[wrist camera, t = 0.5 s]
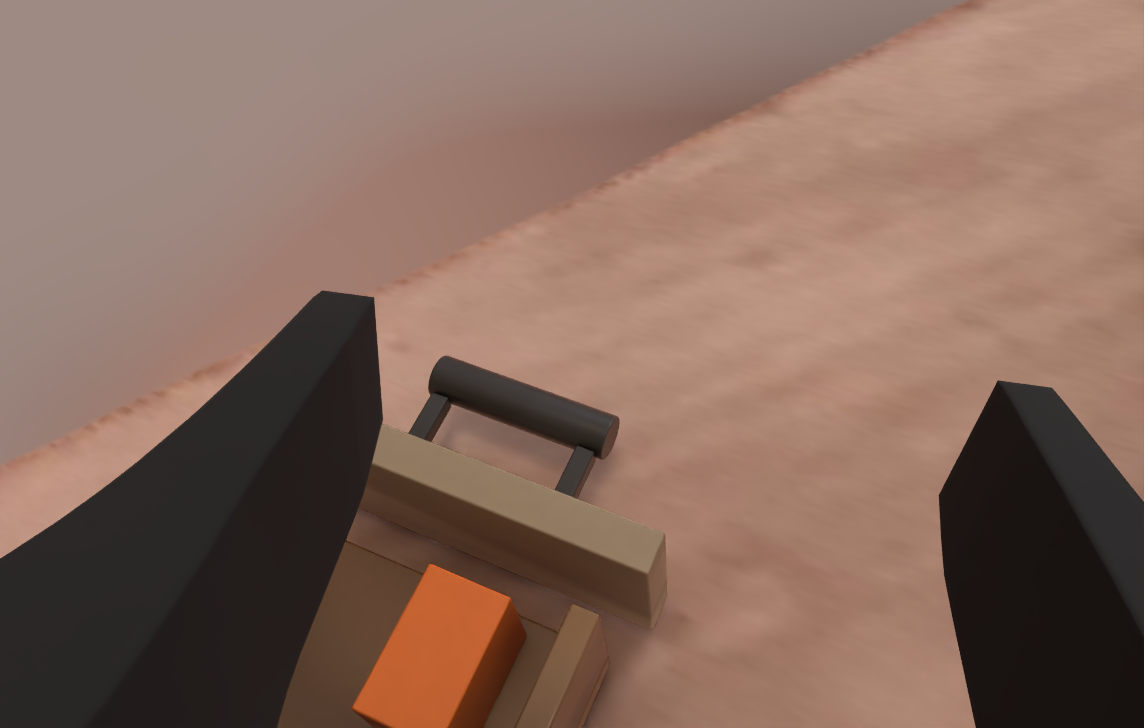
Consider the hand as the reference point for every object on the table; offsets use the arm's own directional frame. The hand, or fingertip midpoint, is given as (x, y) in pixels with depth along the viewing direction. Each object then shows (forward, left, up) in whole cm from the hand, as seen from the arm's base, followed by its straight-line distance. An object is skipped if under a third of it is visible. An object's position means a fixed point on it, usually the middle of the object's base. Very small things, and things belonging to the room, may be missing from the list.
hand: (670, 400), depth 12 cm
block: (-1, +6, -17) cm, 18 cm away
